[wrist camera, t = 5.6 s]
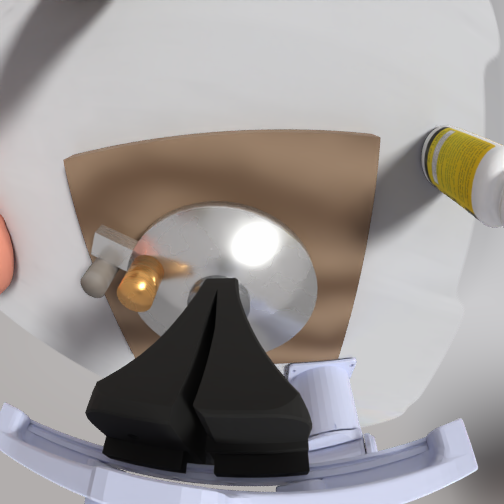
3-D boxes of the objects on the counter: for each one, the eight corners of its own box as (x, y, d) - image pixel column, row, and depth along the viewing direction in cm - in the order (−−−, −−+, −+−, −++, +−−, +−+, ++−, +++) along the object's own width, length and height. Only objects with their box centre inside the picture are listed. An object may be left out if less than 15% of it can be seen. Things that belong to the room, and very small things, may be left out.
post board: (335, 348, 28) (345, 390, 24) (139, 349, 29) (126, 388, 24) (371, 133, 17) (410, 151, 12) (73, 154, 17) (30, 178, 13)
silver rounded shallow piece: (351, 256, 19) (370, 294, 16) (257, 363, 26) (258, 399, 22) (124, 147, 15) (90, 165, 12) (89, 297, 22) (70, 330, 18)
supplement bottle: (417, 189, 19) (495, 257, 11) (419, 122, 16) (515, 159, 8) (464, 187, 18) (539, 245, 10) (468, 126, 16) (557, 165, 7)
